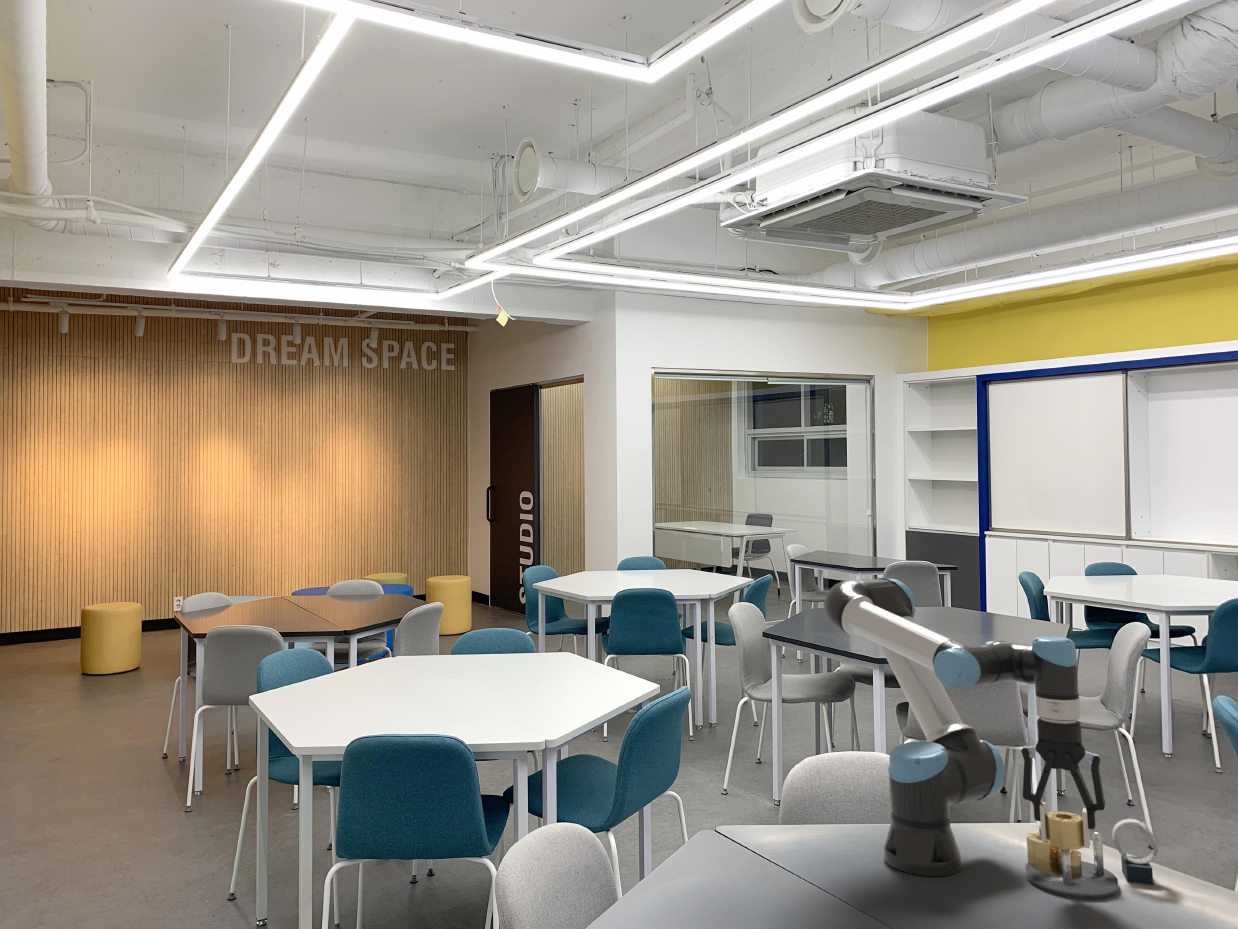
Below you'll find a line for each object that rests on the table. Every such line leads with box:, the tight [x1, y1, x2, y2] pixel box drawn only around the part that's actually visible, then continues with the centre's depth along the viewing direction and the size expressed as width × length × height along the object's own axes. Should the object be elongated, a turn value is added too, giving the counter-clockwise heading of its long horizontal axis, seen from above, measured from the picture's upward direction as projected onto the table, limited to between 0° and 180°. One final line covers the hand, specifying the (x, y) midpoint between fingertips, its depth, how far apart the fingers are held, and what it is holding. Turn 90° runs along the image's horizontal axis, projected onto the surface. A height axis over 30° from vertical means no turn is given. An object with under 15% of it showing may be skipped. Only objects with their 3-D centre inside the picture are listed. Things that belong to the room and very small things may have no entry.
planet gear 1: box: [1026, 831, 1061, 870], centre depth 171 cm, size 6×6×5 cm
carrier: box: [1024, 826, 1119, 900], centre depth 166 cm, size 16×16×9 cm
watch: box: [1111, 818, 1161, 886], centre depth 167 cm, size 6×8×11 cm
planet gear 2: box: [1045, 810, 1084, 851], centre depth 162 cm, size 6×6×5 cm
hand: (1065, 842), depth 162 cm, fingers closed on planet gear 2, 6 cm apart
